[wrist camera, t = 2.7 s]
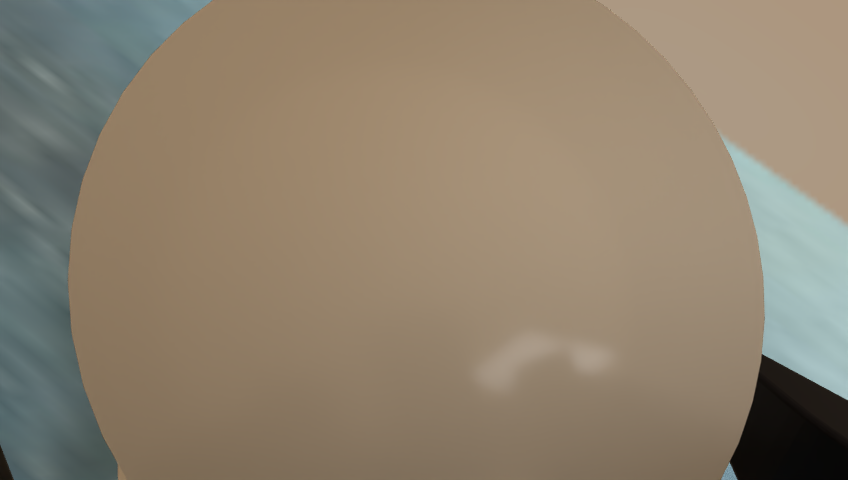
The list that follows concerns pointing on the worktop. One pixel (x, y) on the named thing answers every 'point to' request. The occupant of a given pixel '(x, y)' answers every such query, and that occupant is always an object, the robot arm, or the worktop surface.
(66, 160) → the worktop surface
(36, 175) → the worktop surface
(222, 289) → the jug
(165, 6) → the worktop surface
